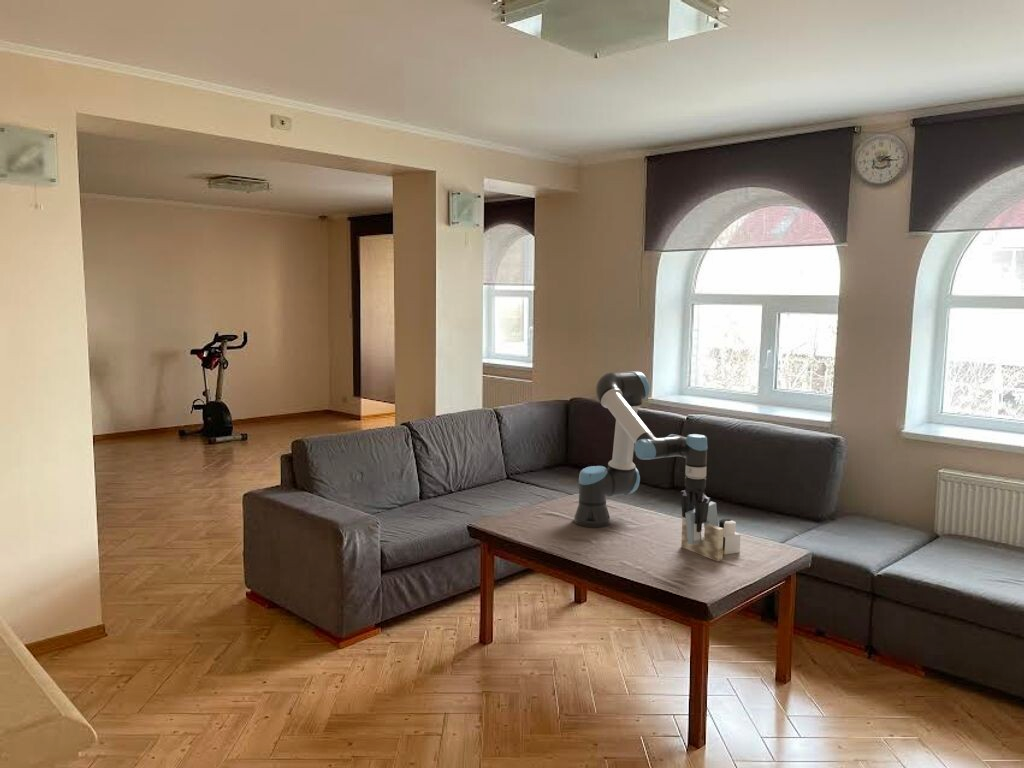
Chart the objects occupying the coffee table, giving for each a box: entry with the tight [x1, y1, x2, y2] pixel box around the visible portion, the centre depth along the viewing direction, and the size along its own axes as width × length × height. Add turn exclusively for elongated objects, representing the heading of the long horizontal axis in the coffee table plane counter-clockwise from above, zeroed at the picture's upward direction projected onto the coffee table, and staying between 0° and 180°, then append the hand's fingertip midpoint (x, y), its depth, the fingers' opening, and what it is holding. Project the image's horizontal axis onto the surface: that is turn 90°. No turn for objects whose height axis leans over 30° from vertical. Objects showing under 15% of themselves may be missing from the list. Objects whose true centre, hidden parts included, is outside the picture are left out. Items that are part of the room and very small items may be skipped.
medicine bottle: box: [718, 518, 741, 556], centre depth 281 cm, size 7×7×12 cm
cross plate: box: [685, 501, 719, 545], centre depth 276 cm, size 14×2×12 cm, turn 123°
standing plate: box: [680, 516, 724, 562], centre depth 278 cm, size 18×2×12 cm, turn 33°
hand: (693, 538), depth 275 cm, fingers closed on cross plate, 2 cm apart
